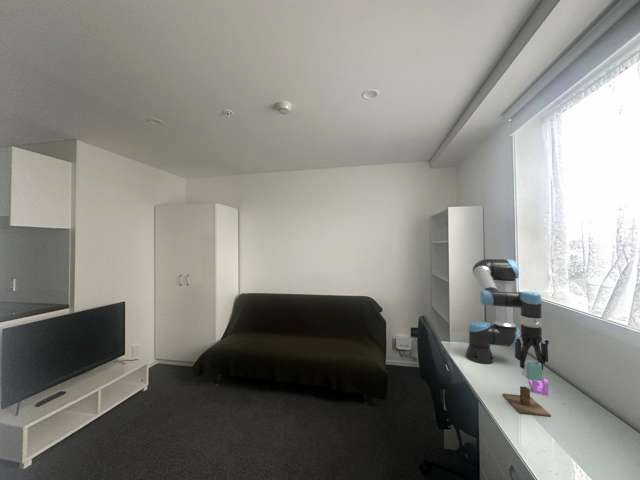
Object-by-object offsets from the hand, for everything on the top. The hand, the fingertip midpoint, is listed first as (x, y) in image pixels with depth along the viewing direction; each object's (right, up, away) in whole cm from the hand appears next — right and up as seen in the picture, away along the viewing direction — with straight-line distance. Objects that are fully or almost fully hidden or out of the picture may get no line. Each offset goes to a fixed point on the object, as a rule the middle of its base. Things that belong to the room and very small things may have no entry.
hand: (531, 375), depth 119 cm
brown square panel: (-4, -13, -1) cm, 14 cm away
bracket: (+15, -14, +14) cm, 25 cm away
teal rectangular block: (0, -1, 0) cm, 1 cm away
